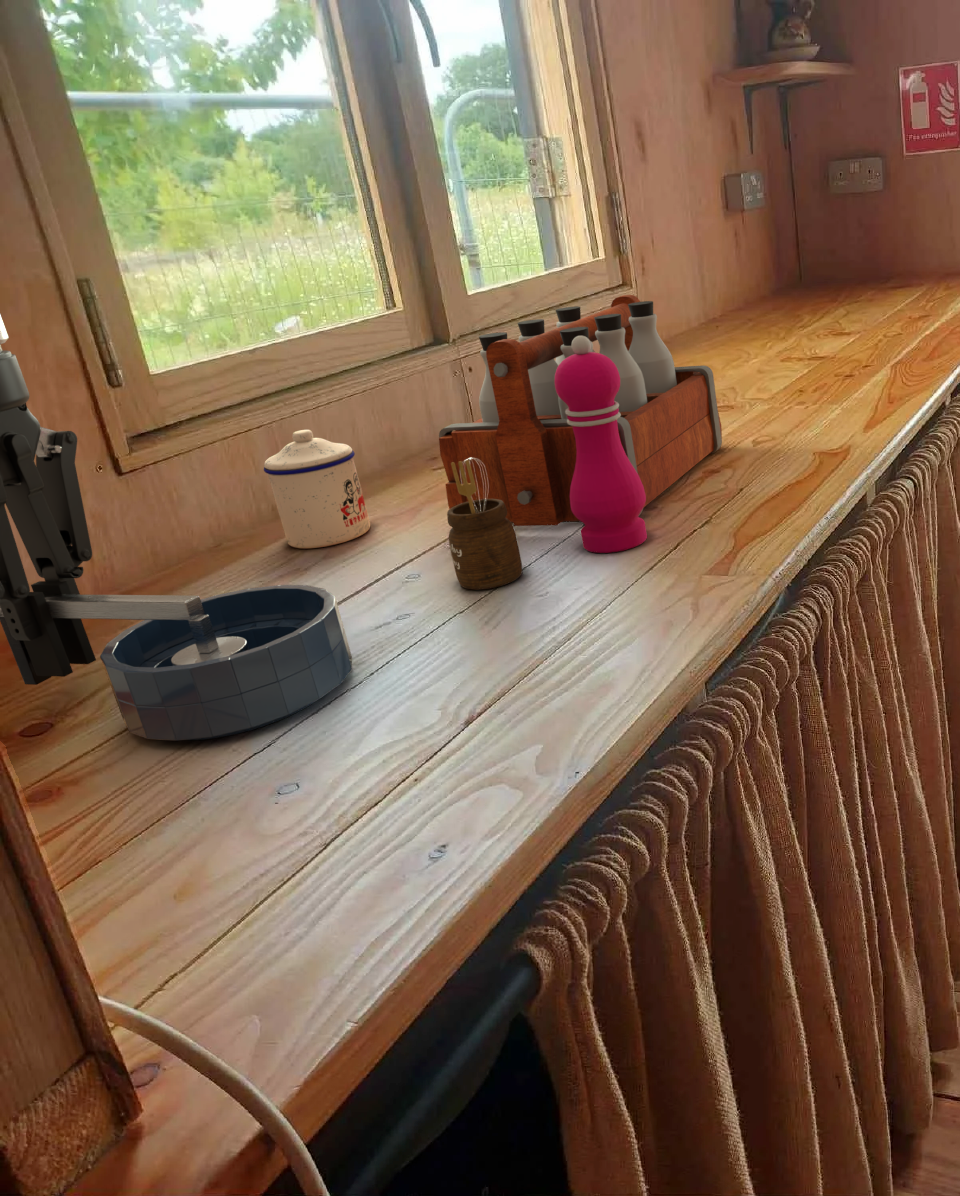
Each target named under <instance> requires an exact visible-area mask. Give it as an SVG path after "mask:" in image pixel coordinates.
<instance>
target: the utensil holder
mask: <svg viewBox="0 0 960 1196" xmlns="http://www.w3.org/2000/svg"><path fill="white" fill-rule="evenodd" d="M468 459H470V458H468ZM468 459H466V460H464V461H466V462H465V464H466V466H467V470H468V473H469V477H470V481H471V483H468V482H467V478H466V472H464V468H463V465H464V463H463V462H464V461H463V462H461V461H459V462H458V464H459V468H460V471H461V473H460V477H461V475H462V479H463V483H464V484H460V481H459V477H458V473H457V470H456V466H455V463H454V462H452V463H451V466H452V470H453V473H454V477H455V481H456V485H457V488H458V492H459V494H461V495H464V496H466V497H467V498H468V502H465V503H461V504H459V505H456V506H454V507H452V508H451V509H449V508H448V510H447V523H448V526H449V527H451V528H450V530H449V532H448V544H449V551H450V555H451V559H452V564H453V567H454V571H455V575H456V579H457V581H458V583H459V585H460V586H461V587H462V588H464V589H466V590H474V591H475V590H476V591H477V590H490V589H494V588H499V587H503V586H505V585H508V584H511V583H513V582H514V581H516V580H517V579H518V578H519V577H521V575H522V573H523V565H522V564H523V563H522V557H521V552H520V548H519V543H518V538H517V534H516V530H515V526H514V524H513V523H511V522H510V520H508V519H507V518H505V517H506V516H507V509H506V506H505V504H504V502H503V501H502V500H499V499H484V498H483V499H480V498H479V500H473V499H472V498H471V497H472V496H471V495H472V494H474V493H475V492H476V490H477V489H476V485H475V481H474V477H473V474H472V470H471V466H470V462H469V460H468ZM472 459H474V460H475V459H476V460H477V458H472ZM472 459H471V460H472ZM478 460H479V459H478ZM476 462H477V461H476ZM462 463H463V464H462ZM472 463H473V461H472ZM477 463H478V462H477ZM480 464H481V463H480ZM478 465H479V464H478ZM483 465H484V464H483ZM481 466H482V465H481ZM473 467H474V465H473ZM479 467H480V466H479ZM484 467H485V466H484ZM482 469H483V467H482ZM485 470H486V469H485ZM480 471H481V469H480ZM474 472H475V469H474ZM483 473H484V471H483ZM481 475H482V473H481ZM486 475H487V473H486ZM475 477H476V474H475ZM484 478H485V475H484ZM482 480H483V478H482ZM487 480H488V477H487ZM476 482H477V479H476ZM461 483H462V480H461ZM485 485H486V481H485ZM477 488H478V485H477ZM483 488H484V483H483ZM488 490H489V484H488ZM478 494H479V491H478ZM475 495H476V493H475ZM487 497H488V494H487ZM485 498H486V493H485ZM476 499H477V497H476ZM472 500H473V501H472Z"/></svg>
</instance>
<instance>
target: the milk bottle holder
mask: <svg viewBox="0 0 960 1196" xmlns="http://www.w3.org/2000/svg"><path fill="white" fill-rule="evenodd" d="M555 313H556V317H557V320H558V321H556V327H555V328H554V329H551V330H548V331H545V319H543V318H542V319H541V318H539V319H529V320H523V321H519V322H517V323H516V324H517V327H518V330H519V332H520V335H519V336H518V341H517V340H516V339H512V338H508V332H503V331H502V332H492V333H486V334H482V335H479V336H478V339H479V342H480V345H481V348H482V349H481V350H480V353H479V354H480V356H481V358H482V360H483V363H484V365H485V375H484V379H483V382H482V385H481V389H480V391H479V397H478V404H479V405H478V406H479V411H480V416H481V418H479V419H477V420H475V421H474V420H473V422H465V423H464V422H463V423H452V424H451V423H450V424H449V425H447V426H445V427H443V428H441V429H440V431H439V433H438V443H439V452H440V453H439V455H440V459H441V461H442V465H443V468H444V472H445V474H446V478H447V481H448V482H446V483H445V491H446V498H447V505H448V510H449V509H451V508H452V507H454V506H456V505H459V504H461V503H465V502H468V498H467V497H466V496H464V495H461V494H459V492H458V488H457V485H456V481H455V477H454V473H453V470H452V466H451V463H452V462H454V463H455V466H456V470H457V473H458V477H459V481H460V484H464V483H463V479H462V475H461V477H460V473H461V471H460V468H459V464H458V462H459V461H461V462H463V461H464V460H466V459H468V458H470V459H468V460H469V462H470V466H471V470H472V474H473V477H474V481H475V485H476V489H477V490H476V492H475V493H476V495H475V493H474V494H472V495H471V496H472V497H471V498H472V499H473V500H479V498H480V499H483V498H484V499H499V500H502V501H503V502H504V504H505V506H506V509H507V516H506V517H505V518H507V519H508V520H510V522H511V523H512V525H513V527H538V526H539V527H540V526H541V527H542V526H543V527H544V526H558V525H560V524H562V523H563V524H564V523H567V524H569V523H570V524H571V523H582V522H581V521H580V520H579V519H578V518H577V517H576V516H575V515H574V514H573V512H572V510H571V505H570V486H571V482H572V478H573V474H574V470H575V465H576V455H577V450H576V439H575V435H574V431H573V427H572V426H571V425H569V424H568V423H567V420H568V418H567V416H568V415H566V413H565V411H566V409H567V408H569V407H568V405H567V404H566V403H565V402H564V401H563V400H562V399H561V398H560V397H559V396H558V394H557V392H556V389H555V373H556V369H557V367H558V366H559V364H560V363H561V362H562V361H563V360H564V359H566V358H567V357H569V356H571V355H574V354H576V353H575V352H574V351H573V350H572V346H571V345H572V341H573V339H574V338H575V337H577V336H585V337H587V338H588V339H589V340H590V343H591V349H590V351H589V352H595V353H596V351H595V350H594V343H593V342H596V341H597V342H598V345H599V353H600V354H603V355H605V356H607V357H608V358H610V359H611V360H612V361H613V363H614V364H615V365H616V367H617V369H618V372H619V375H620V388H619V391H618V392H617V394H616V396H615V398H614V401H616V402H618V403H619V407H618V409H619V412H620V414H621V416H620V418H618V419H617V425H618V433H619V437H620V441H621V444H622V447H623V449H624V452H625V454H626V455H627V457H628V459H629V461H630V462H631V464H632V466H633V467H634V469H635V470H636V472H637V473H638V475H639V477H640V480H641V482H642V484H643V487H644V491H645V495H646V502H645V505H644V507H643V509H642V510H641V512H640V514H639V515H638V517H640V516H641V514H642V513H643V510H644V508H645V507H647V506H648V505H649V504H650V503H651V502H653V500H655V499H656V498H657V497H659V496H660V495H661V494H662V493H663V492H664V491H666V490H667V489H668V488H670V487H671V486H672V485H673V484H674V483H675V482H677V481H678V480H679V479H680V478H682V477H683V476H684V475H685V474H687V472H689V471H690V470H691V469H692V468H693V467H695V466H696V465H697V464H698V463H700V461H702V460H703V459H704V458H706V457H707V456H708V455H712V454H715V453H716V452H717V451H718V450H720V448H721V447H722V445H723V434H722V433H723V431H722V428H723V427H722V422H721V418H720V414H719V410H718V401H717V393H716V386H715V377H714V372H713V370H712V368H710V367H709V366H708V365H705V364H703V365H686V366H675V361H674V357H673V355H672V353H671V351H670V350H669V348H668V347H667V345H666V343H665V342H664V341H663V340H662V338H661V337H660V335H659V333H658V329H657V321H658V316H657V314H656V313H654V301H653V300H646V301H645V300H644V301H641V300H640V299H639V297H638V296H635V295H633V294H623V295H620V296H617V297H615V298H614V299H612V301H611V304H610V307H608V308H606V309H603V310H601V311H598V312H596V313H593V314H591V315H588V316H585V317H583V318H581V317H582V316H581V315H582V314H581V313H582V312H581V306H566V307H559V308H557V309H555ZM472 458H477V460H476V459H475V460H474V459H472ZM471 459H472V460H471ZM478 459H479V460H478ZM472 461H473V463H472ZM476 461H477V462H478V463H477V462H476ZM465 462H466V461H464V462H463V463H464V465H463V468H464V472H466V478H467V482H468V483H471V481H470V477H469V473H468V470H467V466H466V464H465ZM463 463H462V464H463ZM480 463H481V464H480ZM478 464H479V465H478ZM483 464H484V465H483ZM473 465H474V467H473ZM481 465H482V466H481ZM479 466H480V467H479ZM484 466H485V467H484ZM482 467H483V469H482ZM474 469H475V472H474ZM480 469H481V471H480ZM485 469H486V470H485ZM483 471H484V473H483ZM481 473H482V475H481ZM486 473H487V475H486ZM475 474H476V477H475ZM484 475H485V478H484ZM487 477H488V480H487ZM482 478H483V480H482ZM476 479H477V482H476ZM461 480H462V483H461ZM485 481H486V485H485ZM483 483H484V488H483ZM488 484H489V490H488ZM477 485H478V488H477ZM478 491H479V494H478ZM485 493H486V498H485ZM487 494H488V497H487ZM476 497H477V499H476ZM473 500H472V501H473Z"/></svg>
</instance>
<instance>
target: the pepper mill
mask: <svg viewBox="0 0 960 1196" xmlns="http://www.w3.org/2000/svg"><path fill="white" fill-rule="evenodd" d="M571 346H572V350H573V351H574V352H575V353H576V354H574V355H571V356H569V357H567V358H566V359H564V360H563V361H562V362H561V363H560V364H559V366H558V367H557V369H556V373H555V389H556V392H557V394H558V396H559V397H560V398H561V399H562V400H563V401H564V402H565V403H566V404H567V405H568V407H569V408H567V409H566V411H565V413H566V415H568V416H567V418H568V420H567V423H568V424H569V425H571V426H572V427H573V431H574V435H575V439H576V450H577V455H576V465H575V470H574V474H573V478H572V482H571V486H570V505H571V510H572V512H573V514H574V515H575V516H576V517H577V518H578V519H579V520H580V521H581V522H580V523H582V524H584V526H583V527H581V529H580V537H581V543H582V548H583V549H585V550H586V551H587V552H590V553H595V554H596V553H597V554H609V553H611V554H612V553H619V552H623V551H627V550H630V549H634V548H635V547H638V546H640V545H642V544H643V543H644V542H646V540H647V538H648V534H647V528H646V522H645V520H644V519H643V518H641V517H640V515H641V514H640V512H641V510H642V509H643V510H644V508H645V507H644V505H645V502H646V495H645V491H644V487H643V484H642V482H641V480H640V477H639V475H638V473H637V472H636V470H635V469H634V467H633V466H632V464H631V462H630V461H629V459H628V457H627V455H626V454H625V452H624V449H623V447H622V444H621V441H620V437H619V433H618V425H617V419H618V418H620V416H621V414H620V412H619V409H618V407H619V403H618V402H616V401H614V398H615V396H616V394H617V392H618V391H619V388H620V375H619V372H618V369H617V367H616V365H615V364H614V363H613V361H612V360H611V359H610V358H608V357H607V356H605V355H603V354H600V353H598V352H596V351H595V352H589V351H590V349H591V343H590V340H589V339H588V338H587V337H585V336H577V337H575V338H574V339H573V341H572V345H571ZM643 507H644V508H643ZM639 514H640V515H639ZM638 515H639V516H638Z"/></svg>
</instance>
